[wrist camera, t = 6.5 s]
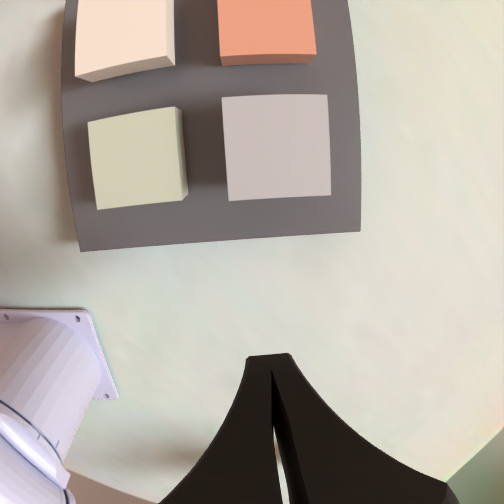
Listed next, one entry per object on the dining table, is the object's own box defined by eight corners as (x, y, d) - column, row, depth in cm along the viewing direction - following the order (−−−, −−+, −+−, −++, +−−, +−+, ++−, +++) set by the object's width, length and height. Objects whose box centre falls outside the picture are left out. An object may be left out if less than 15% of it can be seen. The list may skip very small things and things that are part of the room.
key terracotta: (222, 66, 13) (220, 56, 11) (218, -4, 12) (216, -20, 10) (307, 63, 13) (316, 54, 11) (300, -6, 12) (307, -21, 10)
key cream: (92, 82, 12) (74, 76, 10) (93, 10, 11) (78, -2, 9) (175, 65, 12) (166, 55, 10) (173, -9, 11) (166, -25, 9)
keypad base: (94, 240, 18) (80, 252, 16) (80, 6, 13) (66, -4, 11) (348, 222, 18) (360, 231, 16) (331, -21, 13) (340, -35, 11)
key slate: (229, 193, 14) (228, 201, 12) (223, 103, 13) (221, 97, 11) (320, 188, 14) (330, 195, 12) (316, 100, 13) (327, 94, 11)
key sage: (111, 202, 15) (97, 209, 13) (103, 123, 14) (87, 122, 12) (188, 193, 15) (182, 200, 13) (181, 110, 14) (174, 106, 12)
